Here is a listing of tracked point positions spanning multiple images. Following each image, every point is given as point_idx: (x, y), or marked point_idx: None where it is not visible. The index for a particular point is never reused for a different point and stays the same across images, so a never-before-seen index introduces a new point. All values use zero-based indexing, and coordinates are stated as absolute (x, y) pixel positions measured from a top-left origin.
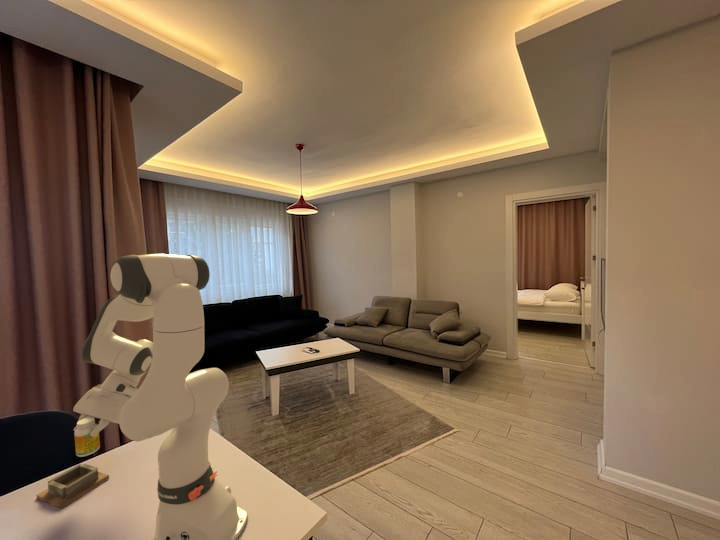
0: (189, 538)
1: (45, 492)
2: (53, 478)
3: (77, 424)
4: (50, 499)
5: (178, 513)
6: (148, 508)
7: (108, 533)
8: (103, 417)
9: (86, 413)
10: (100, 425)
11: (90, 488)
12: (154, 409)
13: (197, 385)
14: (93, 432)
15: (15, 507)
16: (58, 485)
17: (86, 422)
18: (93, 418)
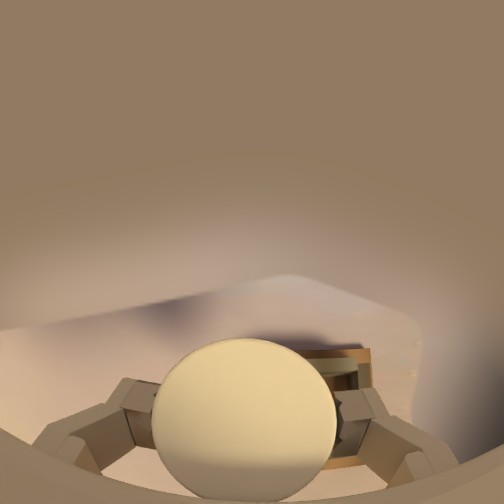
0: None
1: (359, 362)
2: (369, 376)
3: (255, 339)
4: (311, 353)
5: None
6: (36, 384)
7: (64, 320)
8: (7, 439)
9: (379, 494)
10: (68, 426)
11: None
12: None
13: None
14: (117, 393)
15: (376, 317)
16: (312, 364)
17: (179, 394)
18: (197, 485)
